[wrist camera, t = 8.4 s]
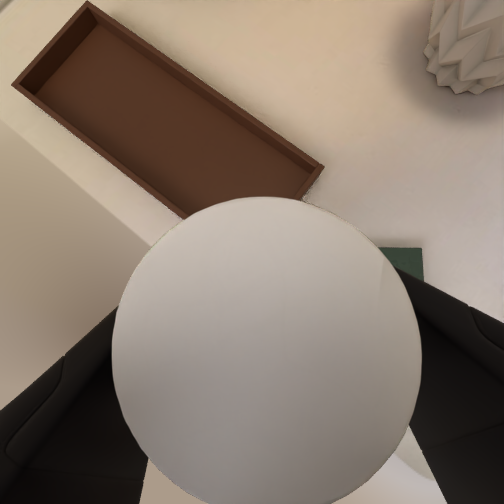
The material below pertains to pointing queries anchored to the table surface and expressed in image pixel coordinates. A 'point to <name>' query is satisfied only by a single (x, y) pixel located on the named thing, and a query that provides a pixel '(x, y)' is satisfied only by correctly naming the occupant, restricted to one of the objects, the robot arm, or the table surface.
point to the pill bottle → (266, 354)
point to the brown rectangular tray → (159, 119)
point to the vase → (467, 44)
